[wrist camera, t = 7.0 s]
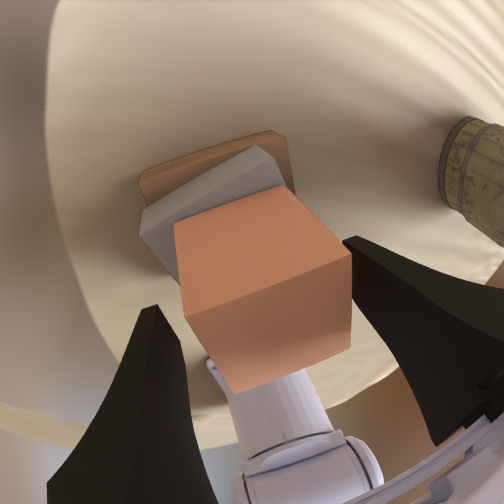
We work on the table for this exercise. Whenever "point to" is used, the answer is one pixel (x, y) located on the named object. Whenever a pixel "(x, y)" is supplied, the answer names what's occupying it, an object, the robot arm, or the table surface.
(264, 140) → the tower base
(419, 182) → the table surface
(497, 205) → the stone statue
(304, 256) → the terracotta block
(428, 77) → the table surface
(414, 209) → the table surface
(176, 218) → the tower middle
